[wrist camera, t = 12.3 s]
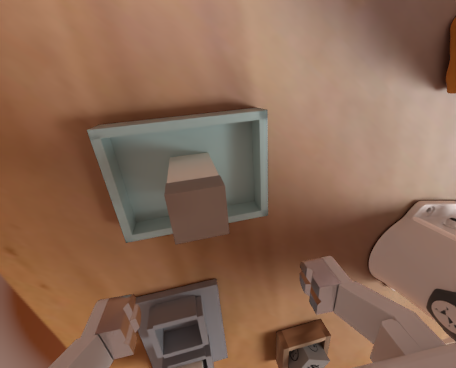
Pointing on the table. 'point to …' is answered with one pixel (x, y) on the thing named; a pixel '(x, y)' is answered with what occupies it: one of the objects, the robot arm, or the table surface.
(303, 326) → the dice corral
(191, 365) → the block
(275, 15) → the table surface
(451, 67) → the coffee package
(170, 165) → the block
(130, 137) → the tray
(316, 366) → the dice cube
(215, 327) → the block
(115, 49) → the table surface
